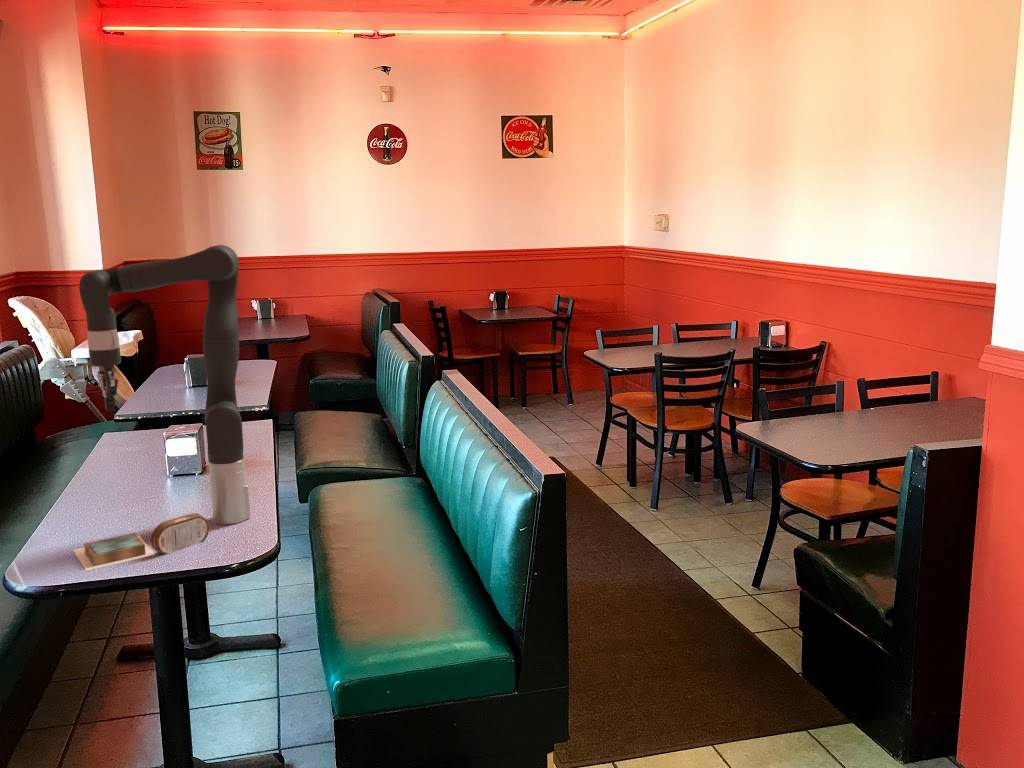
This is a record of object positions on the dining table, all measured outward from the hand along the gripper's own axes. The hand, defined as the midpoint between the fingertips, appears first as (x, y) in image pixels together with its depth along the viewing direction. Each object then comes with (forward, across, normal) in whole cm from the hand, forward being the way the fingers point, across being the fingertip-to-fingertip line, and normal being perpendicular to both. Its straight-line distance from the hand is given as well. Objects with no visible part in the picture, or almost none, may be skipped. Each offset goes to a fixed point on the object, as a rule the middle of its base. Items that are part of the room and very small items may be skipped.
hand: (110, 410), depth 239 cm
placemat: (+32, -22, +7) cm, 39 cm away
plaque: (+30, -18, +7) cm, 36 cm away
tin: (+32, -29, -8) cm, 44 cm away
